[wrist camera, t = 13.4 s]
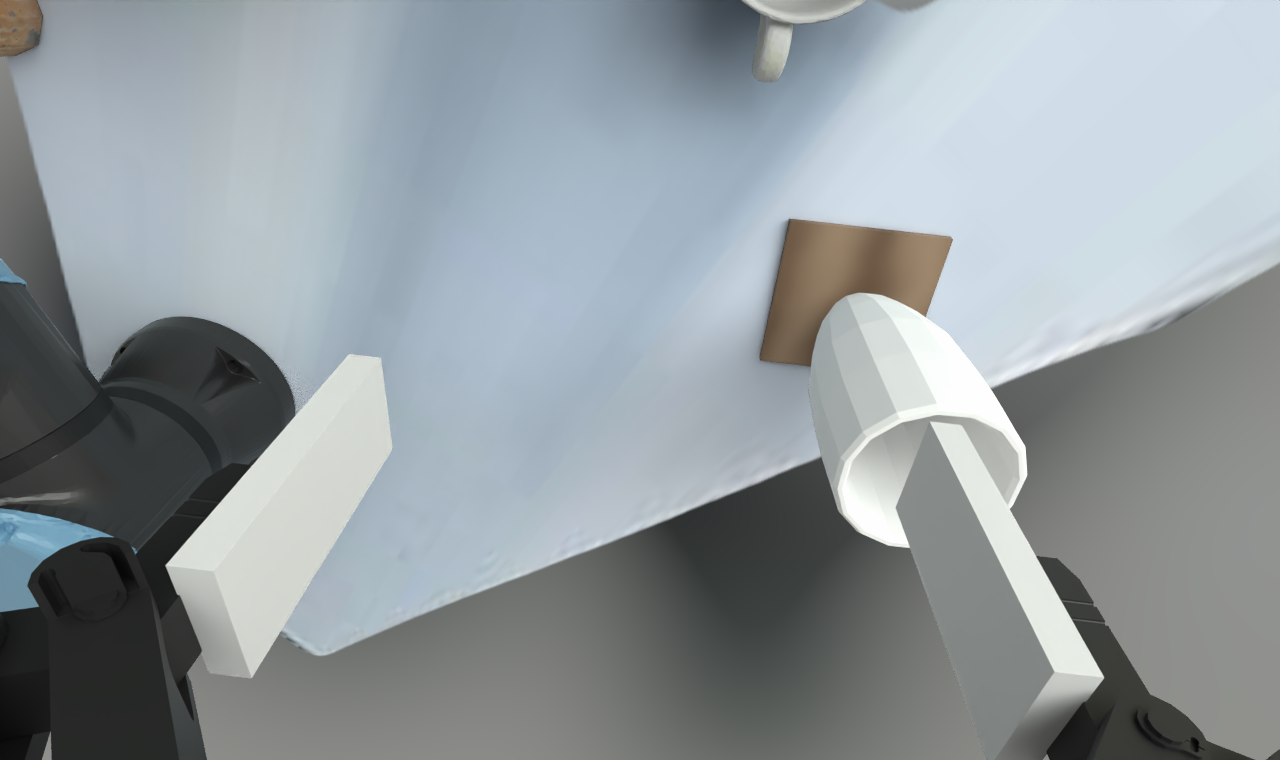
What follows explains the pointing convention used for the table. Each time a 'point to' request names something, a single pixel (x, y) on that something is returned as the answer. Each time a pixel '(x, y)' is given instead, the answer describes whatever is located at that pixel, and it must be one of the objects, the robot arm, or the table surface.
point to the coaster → (844, 278)
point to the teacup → (787, 29)
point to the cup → (897, 408)
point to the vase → (19, 26)
